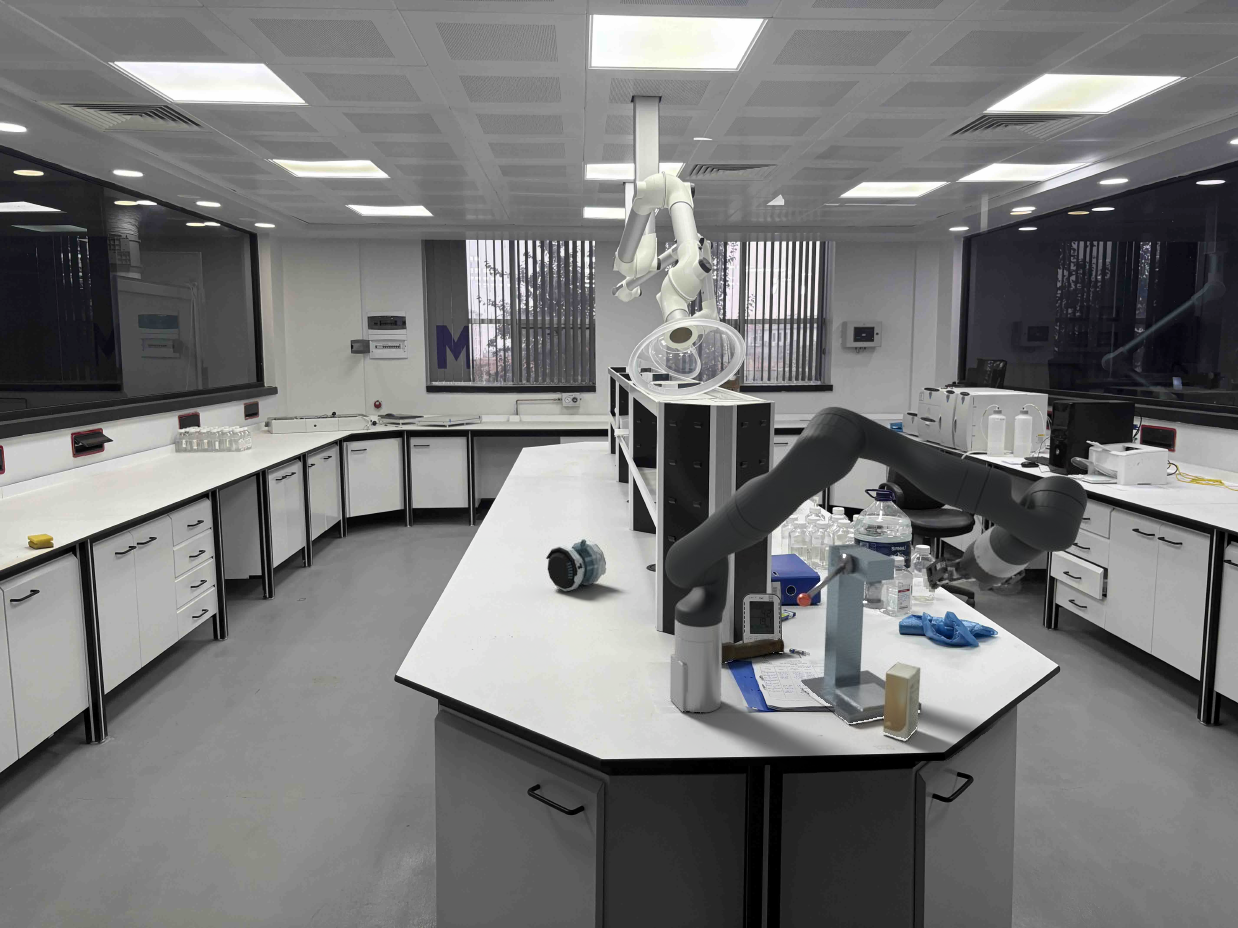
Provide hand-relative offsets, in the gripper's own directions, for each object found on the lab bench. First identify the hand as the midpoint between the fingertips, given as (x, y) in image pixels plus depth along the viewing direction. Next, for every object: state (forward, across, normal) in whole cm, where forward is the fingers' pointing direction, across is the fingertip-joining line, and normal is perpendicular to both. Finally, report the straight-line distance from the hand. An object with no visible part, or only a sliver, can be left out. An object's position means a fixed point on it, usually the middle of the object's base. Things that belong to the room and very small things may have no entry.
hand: (957, 584), depth 139 cm
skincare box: (+18, -6, -23) cm, 30 cm away
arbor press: (+29, -13, -16) cm, 35 cm away
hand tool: (+49, -29, -4) cm, 57 cm away
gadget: (+95, -70, +26) cm, 121 cm away
